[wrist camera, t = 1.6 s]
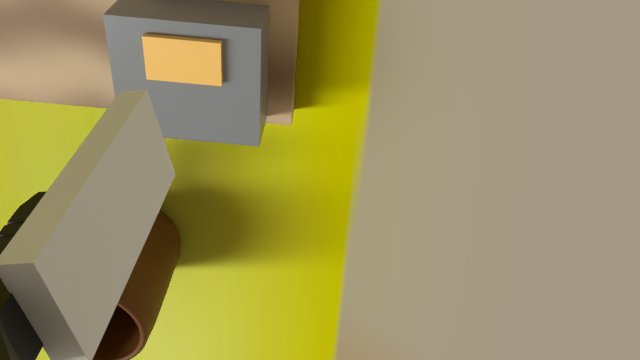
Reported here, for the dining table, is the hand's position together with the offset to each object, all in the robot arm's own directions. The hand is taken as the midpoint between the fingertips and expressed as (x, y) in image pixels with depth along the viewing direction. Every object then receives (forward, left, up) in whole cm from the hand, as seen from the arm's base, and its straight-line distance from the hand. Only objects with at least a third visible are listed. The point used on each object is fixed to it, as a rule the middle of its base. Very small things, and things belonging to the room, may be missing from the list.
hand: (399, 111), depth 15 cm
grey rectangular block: (-12, -3, -18) cm, 22 cm away
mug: (-23, -14, -21) cm, 34 cm away
